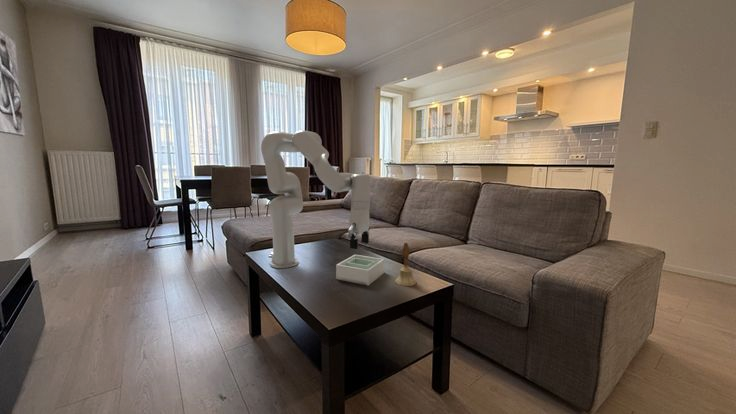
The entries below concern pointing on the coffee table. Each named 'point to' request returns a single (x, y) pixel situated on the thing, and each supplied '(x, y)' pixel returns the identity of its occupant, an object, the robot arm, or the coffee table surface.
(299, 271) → the coffee table surface
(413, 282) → the hand bell
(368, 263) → the small crate
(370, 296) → the coffee table surface
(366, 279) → the big crate
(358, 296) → the coffee table surface
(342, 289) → the coffee table surface
